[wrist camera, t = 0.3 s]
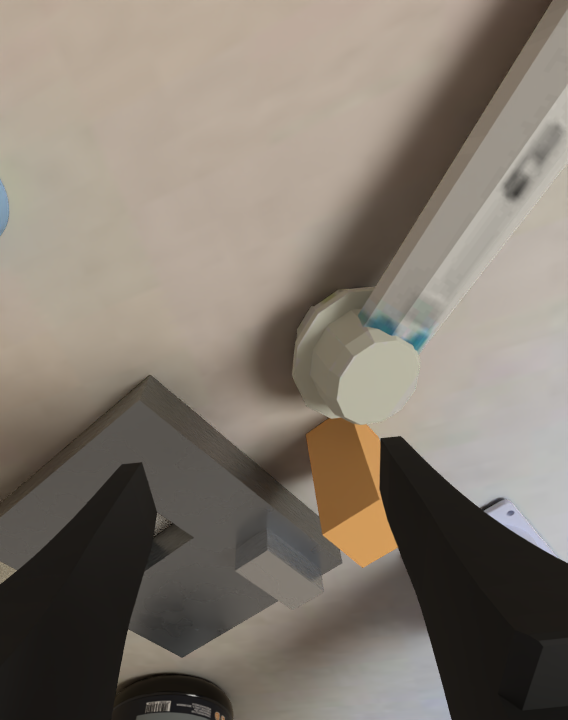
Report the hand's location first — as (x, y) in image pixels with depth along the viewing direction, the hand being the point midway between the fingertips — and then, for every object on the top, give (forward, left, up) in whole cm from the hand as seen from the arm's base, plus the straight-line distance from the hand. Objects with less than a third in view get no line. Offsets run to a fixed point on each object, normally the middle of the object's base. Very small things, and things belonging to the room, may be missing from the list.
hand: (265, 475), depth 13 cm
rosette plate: (-6, +13, -10) cm, 17 cm away
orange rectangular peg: (-8, +1, -10) cm, 12 cm away
